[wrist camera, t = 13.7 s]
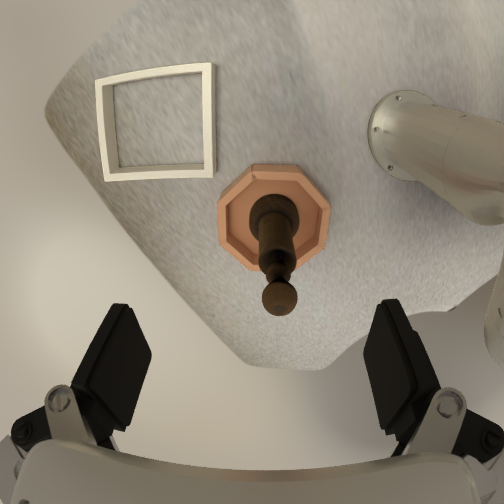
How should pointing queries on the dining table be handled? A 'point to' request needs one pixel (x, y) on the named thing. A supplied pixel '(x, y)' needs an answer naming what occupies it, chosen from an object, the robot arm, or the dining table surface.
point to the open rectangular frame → (156, 171)
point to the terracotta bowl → (263, 183)
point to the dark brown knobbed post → (276, 249)
